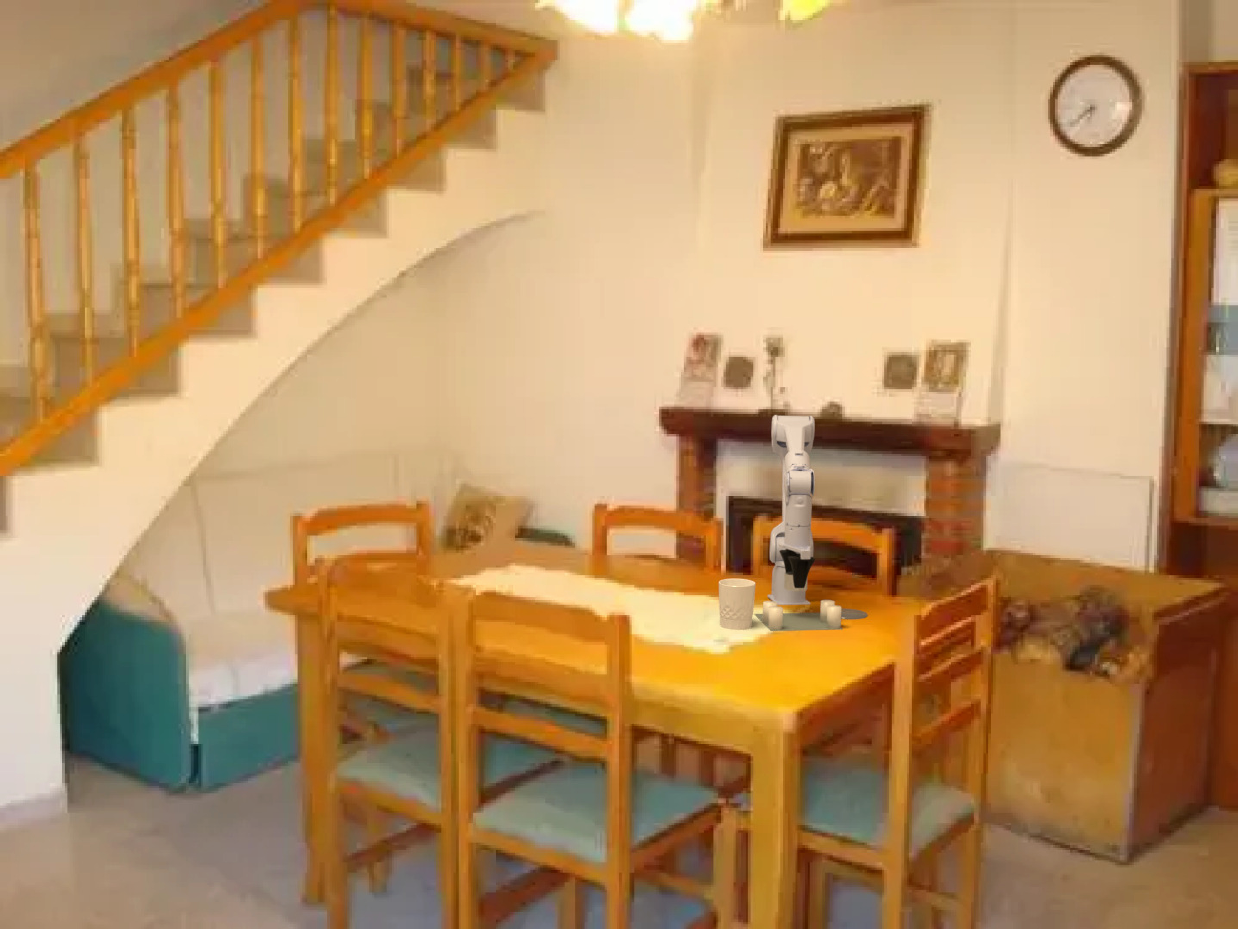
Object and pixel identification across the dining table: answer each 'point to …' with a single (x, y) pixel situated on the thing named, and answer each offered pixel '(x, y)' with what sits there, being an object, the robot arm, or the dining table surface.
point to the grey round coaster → (852, 614)
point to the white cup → (736, 603)
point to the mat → (800, 622)
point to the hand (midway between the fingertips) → (795, 584)
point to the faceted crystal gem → (791, 583)
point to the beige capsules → (827, 614)
